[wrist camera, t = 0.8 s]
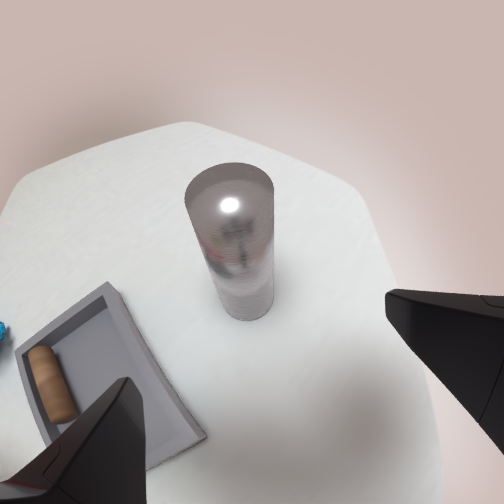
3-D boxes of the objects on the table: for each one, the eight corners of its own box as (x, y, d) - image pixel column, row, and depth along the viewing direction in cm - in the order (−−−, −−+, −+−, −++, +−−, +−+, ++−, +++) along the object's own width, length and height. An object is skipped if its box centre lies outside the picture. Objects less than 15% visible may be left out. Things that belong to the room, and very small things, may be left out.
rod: (84, 414, 19) (64, 410, 16) (64, 425, 18) (44, 422, 15) (59, 351, 22) (40, 342, 20) (41, 364, 21) (22, 356, 19)
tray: (207, 436, 19) (199, 439, 16) (90, 495, 15) (74, 498, 12) (119, 293, 26) (107, 281, 24) (29, 358, 22) (14, 350, 20)
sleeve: (284, 299, 25) (292, 194, 14) (242, 331, 24) (214, 243, 13) (252, 264, 27) (239, 152, 16) (211, 292, 26) (170, 189, 15)
